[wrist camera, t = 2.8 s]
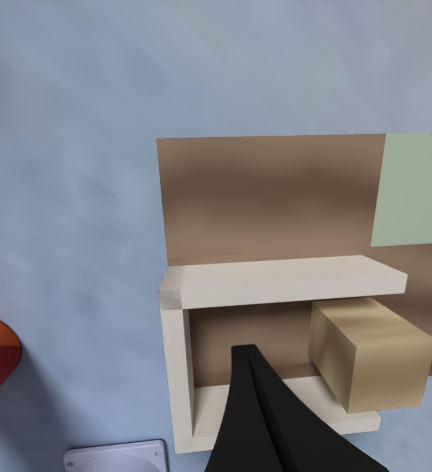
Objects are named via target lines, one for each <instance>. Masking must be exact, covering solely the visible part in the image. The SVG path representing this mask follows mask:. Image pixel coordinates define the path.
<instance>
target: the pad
mask: <svg viewBox="0 0 432 472" xmlns="http://www.w3.org/2000/svg"><path fill="white" fill-rule="evenodd" d="M427 243H432V133H413V134H386V139H385V146H384V154H383V161H382V168H381V175H380V182H379V189H378V196H377V204H376V211H375V218H374V225H373V232H372V239H371V247H374V246H392V245H410V244H427Z"/></svg>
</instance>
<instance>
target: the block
mask: <svg viewBox="0 0 432 472" xmlns="http://www.w3.org/2000/svg"><path fill="white" fill-rule="evenodd" d="M308 354H309V356H310V357H311V359H312V360H313V362H314V363H315V365H316V366H317V368H318V370H319V371H320V373H321V374H322V376H323V377H324V379H325V380H326V382H327V383H328V385H329V386H330V388H331V390H332V391H333V393H334V394H335V396H336V397H337V399H338V400H339V402H340V403H341V405H342V406H343V408H344V410H345V411H346V413H347V414H352V413H361V412H371V411H380V410H389V409H398V408H407V407H416V406H421V403H422V399H423V395H424V390H425V386H426V382H427V378H428V374H429V370H430V365H431V361H432V337H431V336H430V335H428V334H427V333H425V332H423V331H422V330H420V329H419V328H417V327H416V326H414V325H413V324H411V323H410V322H408V321H406V320H405V319H403V318H402V317H400V316H399V315H397V314H396V313H394V312H392V311H391V310H389V309H388V308H386V307H385V306H383V305H382V304H380V303H379V302H377V301H375V300H374V299H372V298H371V297H368V298H354V299H341V300H327V301H314V302H312V310H311V323H310V335H309V348H308Z"/></svg>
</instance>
